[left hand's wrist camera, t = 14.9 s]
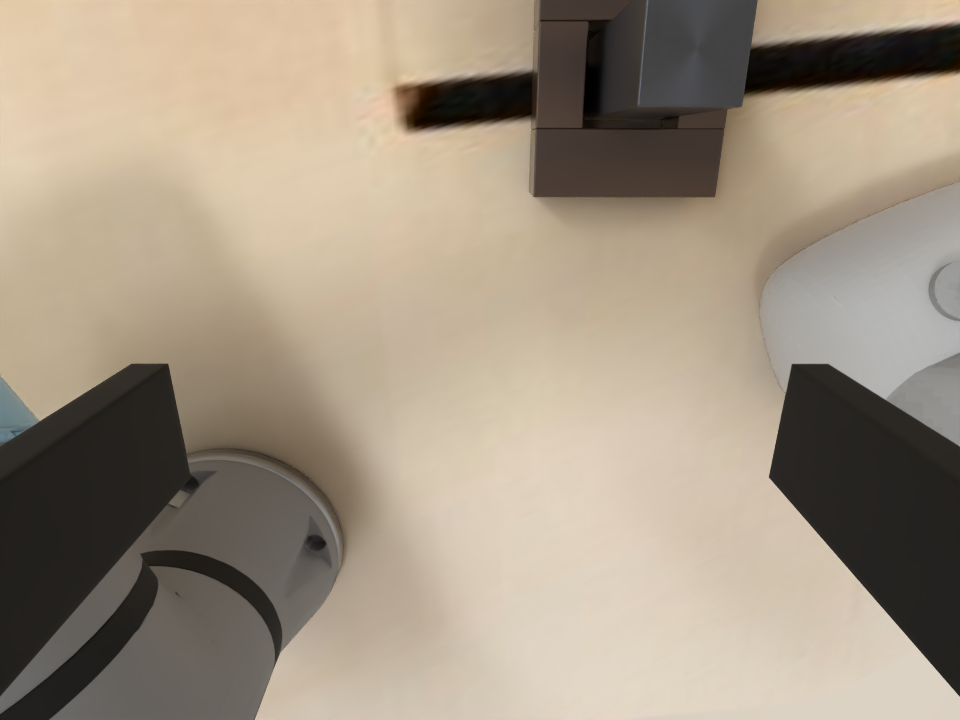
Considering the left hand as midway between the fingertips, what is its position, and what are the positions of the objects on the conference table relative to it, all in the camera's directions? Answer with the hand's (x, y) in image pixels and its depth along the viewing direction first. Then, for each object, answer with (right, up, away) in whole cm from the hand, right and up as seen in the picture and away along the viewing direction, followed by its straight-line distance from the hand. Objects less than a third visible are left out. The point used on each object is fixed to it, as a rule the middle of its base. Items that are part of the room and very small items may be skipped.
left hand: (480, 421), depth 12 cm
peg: (+8, +17, +20) cm, 27 cm away
